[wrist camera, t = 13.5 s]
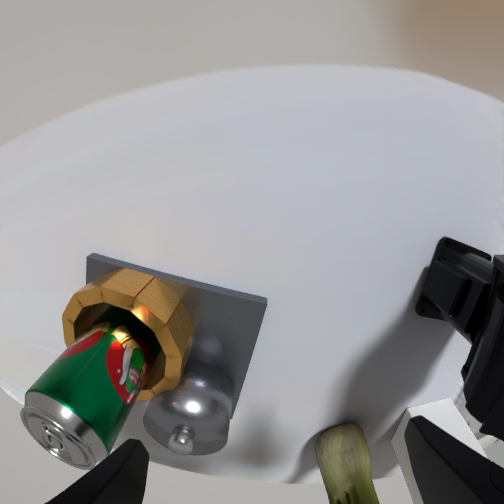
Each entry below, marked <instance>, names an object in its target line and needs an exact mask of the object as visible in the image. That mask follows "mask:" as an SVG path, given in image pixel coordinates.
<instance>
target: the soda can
mask: <svg viewBox="0 0 504 504" xmlns="http://www.w3.org/2000/svg"><path fill="white" fill-rule="evenodd" d="M161 351H162V347H161V345H160V343H159V341H158V339H157V337H156V335H155V333H154V331H153V330H152V329H151V328H149V327H148V326H147V325H146V324H145V323H144V322H142V321H141V320H140V319H139V318H138V317H137V316H136V315H134V314H133V313H132V312H131V311H130V310H127V309H124V308H120V307H117V306H114V305H110V306H109V307H108V308H107V309H106V310H105V311H104V312H103V313H102V314H101V315H100V316H99V317H98V318H97V319H96V320H95V321H94V322H93V323H92V324H91V325H90V326H89V327H88V328H87V329H86V330H85V331H84V332H83V333H82V334H81V335H80V336H79V337H78V338H77V339H76V340H75V341H74V342H73V343H72V344H71V345H70V346H69V347H68V348H67V349H66V350H65V351H64V352H63V353H62V354H61V355H60V356H59V357H58V358H57V359H56V360H55V361H54V363H53V364H52V365H51V366H50V367H49V368H48V369H47V370H46V371H45V372H44V373H43V374H42V375H41V376H40V378H39V379H38V380H37V381H36V382H35V383H34V384H33V385H32V386H31V387H30V389H29V390H28V391H27V392H26V394H25V407H24V408H23V409H22V410H21V412H20V416H21V420H22V422H23V424H24V426H25V427H26V429H27V430H28V432H29V433H30V434H31V435H32V437H33V438H34V439H35V440H36V441H37V442H38V443H39V444H40V445H41V446H42V447H43V448H44V449H46V450H47V451H48V452H49V453H51V454H52V455H53V456H55V457H56V458H58V459H59V460H61V461H63V462H65V463H67V464H69V465H71V466H73V467H76V468H79V469H83V470H91V469H93V468H94V467H95V464H96V462H99V461H101V460H104V459H105V458H106V457H107V456H109V454H110V452H111V450H112V447H113V445H114V443H115V441H116V439H117V437H118V435H119V433H120V431H121V429H122V427H123V425H124V423H125V421H126V419H127V417H128V415H129V413H130V411H131V409H132V407H133V405H134V403H135V401H136V399H137V397H138V395H139V393H140V391H141V389H142V388H143V386H144V384H145V382H146V380H147V378H148V376H149V374H150V372H151V370H152V368H153V366H154V365H155V363H156V361H157V359H158V357H159V355H160V353H161Z"/></svg>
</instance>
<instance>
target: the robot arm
mask: <svg viewBox="0 0 504 504" xmlns="http://www.w3.org/2000/svg"><path fill="white" fill-rule="evenodd" d="M446 241H447V245H446V246H445V243H446ZM491 260H492V257H491V255H489V254H487V253H485V252H483V251H480V250H478V249H476V248H473V247H471V246H468V245H466V244H464V243H461V242H459V241H456V240H454V239H451V238H448V237H443V238H442V239H441V241H440V244H439V247H438V250H437V253H436V256H435V259H434V262H433V264H432V267H431V270H430V273H429V275H428V278H427V281H426V283H425V286H424V288H423V291H422V293H421V296H420V298H419V301H418V303H417V306H416V308H415V312H416V313H417V314H418V315H419V316H423V317H428V318H434V319H439V320H445V321H448V322H449V323H450V324H451V325H452V326H453V327H454V328H455V329H456V330H457V331H458V332H459V333H460V334H461V335H462V336H463V337H464V338H465V339H466V340H467V341H468V342H469V343H470V344H471V345H472V347H471V350H470V353H469V355H468V358H467V361H466V363H465V365H463V368H462V370H461V374H462V377H463V381H464V388H463V391H464V395H465V399H466V401H467V402H466V405H465V407H466V409H467V410H468V411H469V413H470V414H471V415H472V416H473V417H474V418H475V419H476V420H477V421H478V422H480V423H482V426H481V428H480V430H479V431H480V432H481V433H484V434H488V435H492V436H494V437H496V438H498V439H500V440H502V441H504V255H494V257H493V263H492V262H491ZM421 308H423V309H422V310H421V311H420V309H421ZM404 438H405V442H406V446H407V450H408V455H409V459H410V463H411V468H412V472H413V475H414V478H415V481H416V483H417V486H418V489H419V492H420V495H421V498H422V501H423V504H504V468H502V467H500V466H499V465H497V464H495V463H494V462H491V461H490V460H489V459H487V458H486V457H484V456H483V455H481V454H479V453H478V452H476V451H475V450H473V449H472V448H470V447H469V446H467V445H466V444H464V443H462V442H461V441H459V440H458V439H456V438H455V437H453V436H452V435H450V434H449V433H447V432H446V431H444V430H443V429H441V428H440V427H438V426H437V425H435V424H434V423H432V422H431V421H429V420H428V419H427V418H425V417H424V416H422V415H418V416H415V417H412V418H410V419H409V421H408V424H407V427H406V429H405V432H404ZM148 463H149V454H148V451H147V450H146V448H145V447H144V445H143V444H142V442H141V441H140V440H136V439H128V440H127V441H125V442H124V443H123V444H122V445H121V446H119V447H118V448H117V449H116V450H115V451H113V452H112V453H111V454H110V455H109V456H107V457H106V458H105V459H104V460H102V461H101V462H100V463H99V464H98V465H96V466H95V467H94V468H93V469H91V470H90V471H89V472H88V473H86V474H85V475H84V476H82V477H81V478H80V479H78V480H77V481H76V482H75V483H73V484H72V485H71V486H69V487H68V488H67V489H65V491H63V492H61V493H60V494H58V495H57V496H56V497H54V498H53V499H51V500H50V501H48V502H47V503H45V504H142V501H143V497H144V492H145V486H146V479H147V470H148Z"/></svg>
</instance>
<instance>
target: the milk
mask: <svg viewBox="0 0 504 504" xmlns="http://www.w3.org/2000/svg"><path fill="white" fill-rule="evenodd" d="M418 415H422V416H424V417H425V418H427V419H428V420H429V421H431V422H432V423H434V424H435V425H437V426H438V427H440V428H441V429H443V430H444V431H446V432H447V433H449V434H450V435H452V436H453V437H455V438H456V439H458V440H459V441H461V442H462V443H464V444H466V445H467V446H469V447H470V448H472V449H473V450H475V451H476V452H478V453H479V454H481V455H483V456H484V457H486V458H487V456H486V454H485V453H484V451H483V449H482V448H481V446H480V444H479V443H478V441H477V439H476V438H475V436H474V435H473V433H472V431H471V430H470V428H469V427H468V425H467V424H466V422H465V420H464V419H463V417H462V416H461V414H460V413H459V411H458V410H457V408H456V407H455V405H454V404H453V402H452V401H451V399H450V398H446V399H443V400H439V401H435V402H431V403H427V404H423V405H419V406H414V407H410V408H407V409H406V411H405V413H404V416H403V418H402V420H401V422H400V424H399V426H398V428H397V430H396V432H395V434H394V436H393V438H392V440H391V443H392V446H393V449H394V451H395V454H396V456H397V459H398V462H399V464H400V467H401V470H402V472H403V475H404V478H405V481H406V483H407V486H408V489H409V491H410V494H411V498H412V500H413V503H414V504H423V501H422V498H421V495H420V492H419V489H418V486H417V483H416V481H415V478H414V475H413V472H412V468H411V463H410V459H409V455H408V450H407V446H406V442H405V438H404V432H405V429H406V427H407V424H408V421H409V419H410V418H412V417H415V416H418ZM487 459H488V458H487Z"/></svg>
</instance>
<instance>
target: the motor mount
mask: <svg viewBox="0 0 504 504" xmlns="http://www.w3.org/2000/svg"><path fill="white" fill-rule="evenodd" d="M110 305H114V306H117V307H120V308H124V309H127V310H130V311H131V312H132V313H133V314H134V315H136V316H137V317H138V318H139V319H140V320H141V321H142V322H144V323H145V324H146V325H147V326H148V327H149V328H151V329H152V330H153V331H154V333H155V335H156V337H157V339H158V341H159V343H160V345H161V347H162V351H161V353H160V355H159V357H158V359H157V361H156V363H155V365H154V366H153V368H152V370H151V372H150V374H149V376H148V378H147V380H146V382H145V384H144V386H143V388H142V389H141V391H140V393H139V395H138V397H137V399H136V401H144V400H151V401H150V403H149V405H148V408H147V410H146V412H145V414H144V417H143V422H144V426H145V428H146V430H147V432H148V433H149V434H150V435H151V436H152V437H153V438H154V439H155V440H156V441H157V442H159V443H160V444H162V445H163V446H165V447H167V448H169V449H171V450H172V451H174V452H176V453H178V454H190V455H207V454H212V453H215V452H217V451H219V450H221V449H222V448H223V447H224V446H225V445H226V443H227V439H228V431H229V423H230V419H232V417H233V414H234V411H235V408H236V405H237V402H238V399H239V395H240V392H241V389H242V386H243V383H244V380H245V376H246V373H247V370H248V367H249V363H250V360H251V357H252V354H253V350H254V347H255V344H256V340H257V337H258V334H259V330H260V327H261V324H262V320H263V317H264V313H265V310H266V306H267V298H265V297H260V296H256V295H252V294H247V293H243V292H239V291H235V290H230V289H226V288H222V287H218V286H214V285H210V284H206V283H202V282H198V281H194V280H190V279H186V278H182V277H178V276H175V275H171V274H167V273H163V272H159V271H156V270H152V269H148V268H145V267H141V266H138V265H134V264H130V263H127V262H123V261H120V260H116V259H113V258H109V257H106V256H103V255H99V254H96V253H92V254H90V255H89V256H87V266H86V286H84V287H83V288H82V289H80V290H79V291H77V292H76V293H75V294H73V296H72V298H71V300H70V302H69V303H68V305H67V307H66V309H65V311H64V313H63V314H62V315H63V316H62V321H63V331H64V339H65V344H66V346H67V348H68V347H69V346H70V345H71V344H72V343H73V342H74V341H75V340H76V339H77V338H78V337H79V336H80V335H81V334H82V333H83V332H84V331H85V330H86V329H87V328H88V327H89V326H90V325H91V324H92V323H93V322H94V321H95V320H96V319H97V318H98V317H99V316H100V315H101V314H102V313H103V312H104V311H105V310H106V309H107V308H108V307H109V306H110Z"/></svg>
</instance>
